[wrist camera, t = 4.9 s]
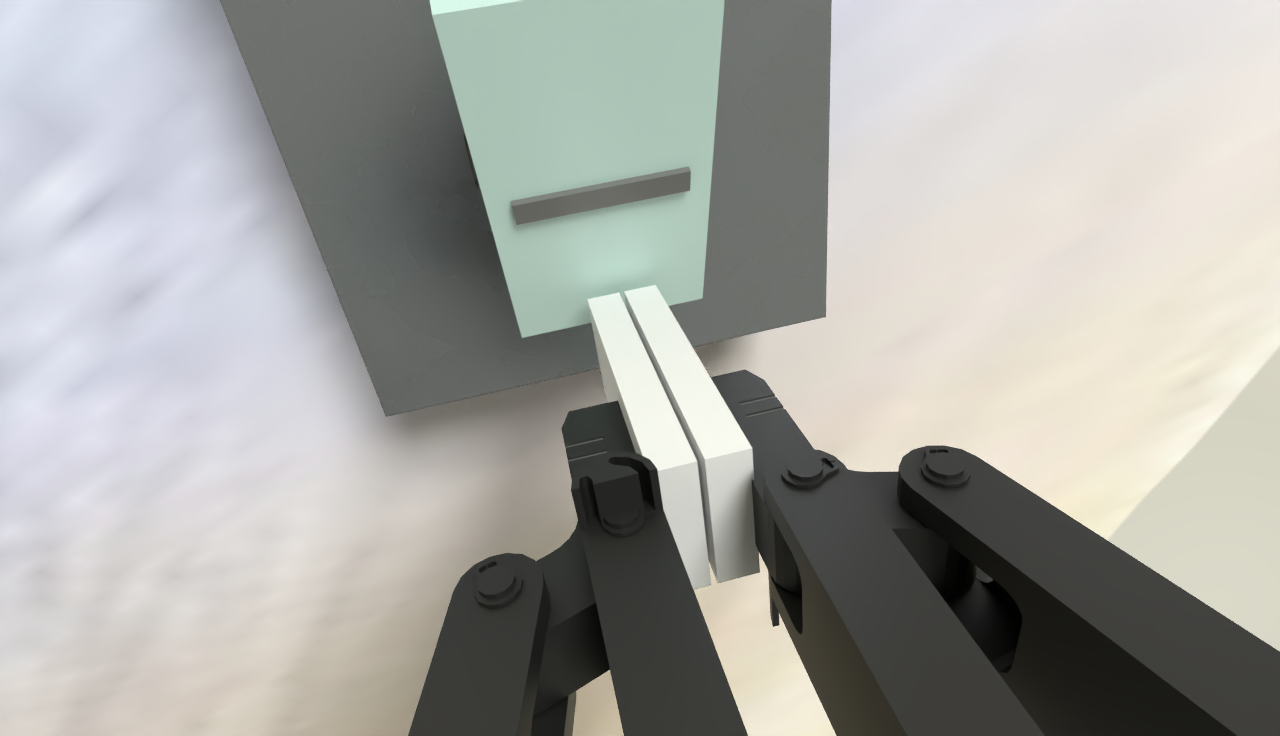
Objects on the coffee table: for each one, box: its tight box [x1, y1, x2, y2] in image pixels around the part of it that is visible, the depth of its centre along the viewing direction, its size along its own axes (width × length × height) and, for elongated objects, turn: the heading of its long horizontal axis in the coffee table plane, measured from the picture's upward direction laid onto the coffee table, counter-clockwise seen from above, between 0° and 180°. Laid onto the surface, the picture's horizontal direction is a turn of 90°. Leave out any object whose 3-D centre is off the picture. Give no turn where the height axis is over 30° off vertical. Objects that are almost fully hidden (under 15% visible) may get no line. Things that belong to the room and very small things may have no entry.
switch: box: [430, 0, 724, 338], centre depth 14 cm, size 5×8×2 cm, turn 8°
